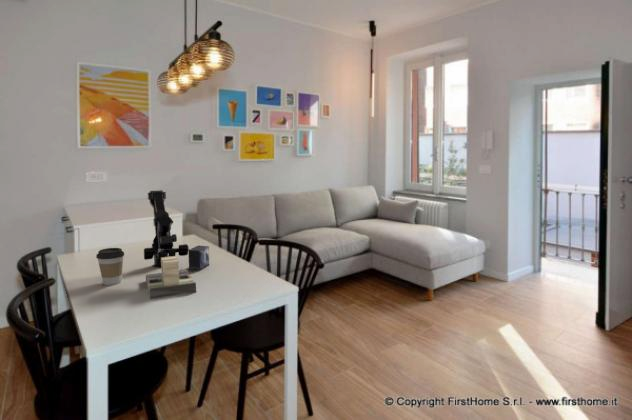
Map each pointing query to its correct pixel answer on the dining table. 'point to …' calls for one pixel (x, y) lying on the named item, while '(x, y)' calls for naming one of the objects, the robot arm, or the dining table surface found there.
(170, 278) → the birch block
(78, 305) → the dining table surface
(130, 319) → the dining table surface
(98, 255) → the coffee cup
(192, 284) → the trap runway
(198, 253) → the small box
